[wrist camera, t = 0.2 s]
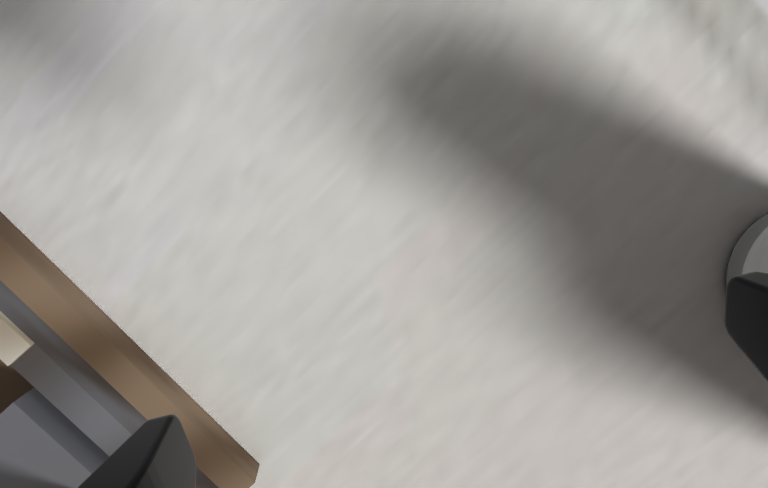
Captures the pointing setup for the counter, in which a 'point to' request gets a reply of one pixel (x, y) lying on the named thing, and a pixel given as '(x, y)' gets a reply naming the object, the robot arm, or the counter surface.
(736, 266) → the travel mug
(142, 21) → the counter surface
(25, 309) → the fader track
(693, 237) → the counter surface
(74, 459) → the fader tab
